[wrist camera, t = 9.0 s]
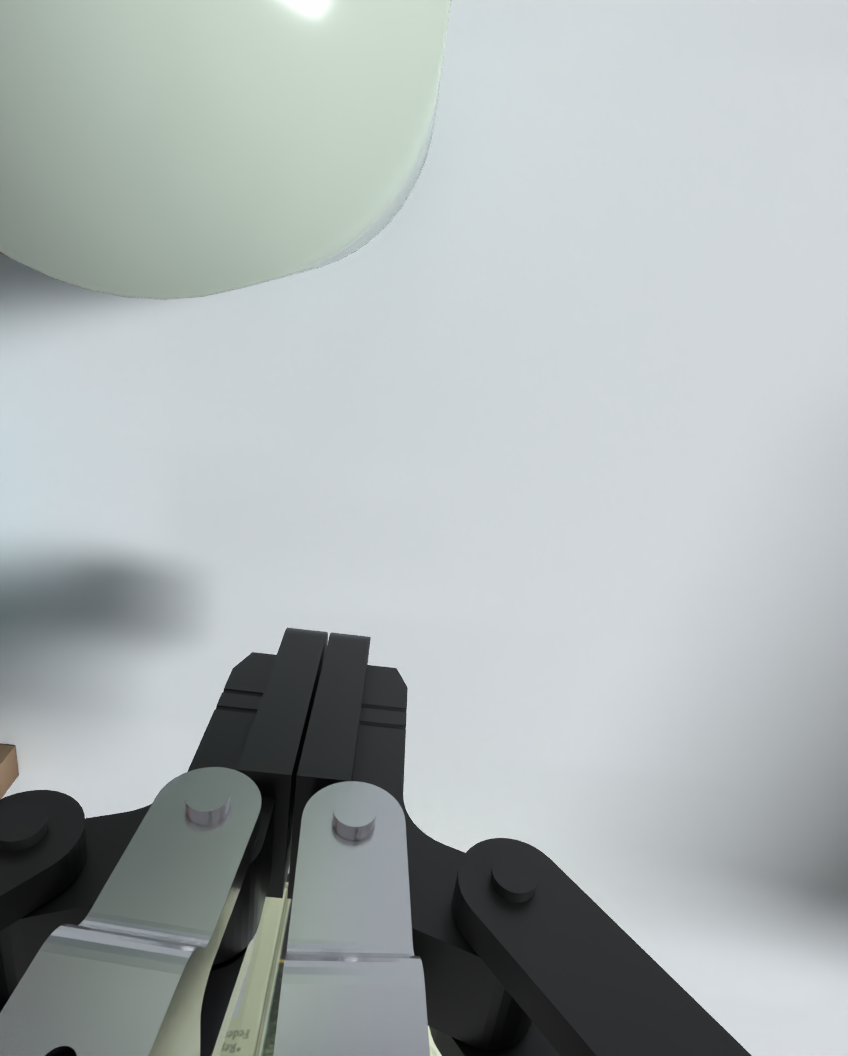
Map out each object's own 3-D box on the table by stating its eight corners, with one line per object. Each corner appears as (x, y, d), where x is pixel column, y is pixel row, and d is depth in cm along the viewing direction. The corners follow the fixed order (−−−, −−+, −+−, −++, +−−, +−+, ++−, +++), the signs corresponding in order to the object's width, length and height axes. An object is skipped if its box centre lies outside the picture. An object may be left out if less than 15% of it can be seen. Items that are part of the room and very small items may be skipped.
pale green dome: (81, -159, 12) (-342, -662, 5) (459, -96, 12) (509, -491, 6) (99, 250, 14) (-173, 257, 8) (414, 292, 14) (411, 334, 8)
